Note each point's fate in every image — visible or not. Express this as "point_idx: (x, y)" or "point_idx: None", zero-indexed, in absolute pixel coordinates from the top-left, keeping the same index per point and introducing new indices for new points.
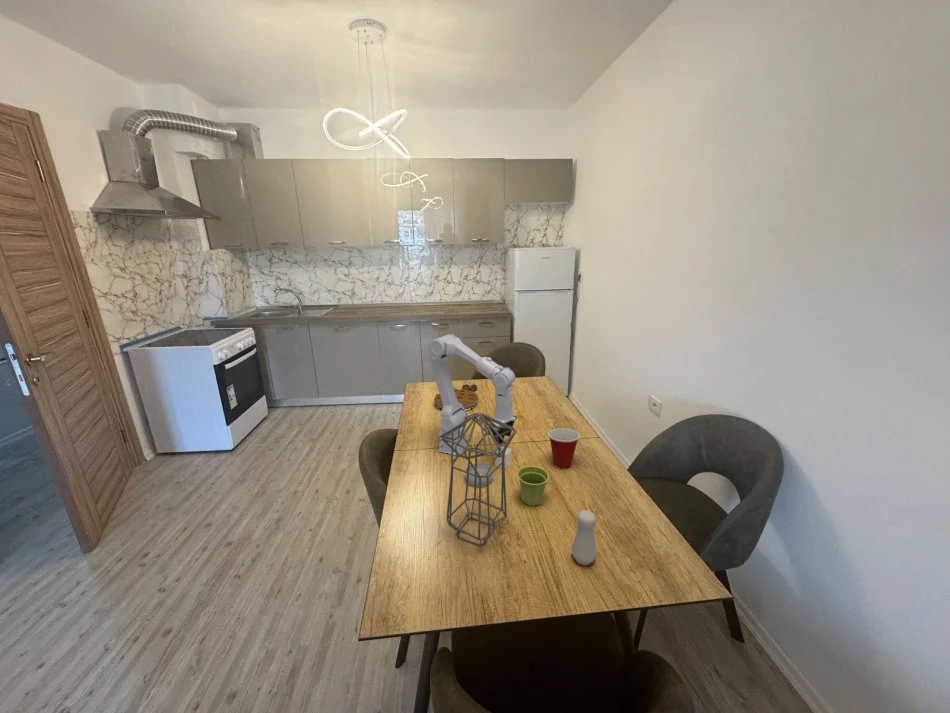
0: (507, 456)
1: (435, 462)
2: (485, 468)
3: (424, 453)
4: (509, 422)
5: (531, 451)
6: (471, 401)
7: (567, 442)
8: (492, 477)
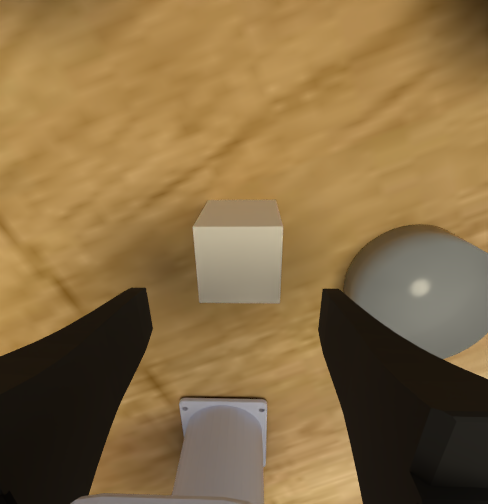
0: (278, 221)
1: (332, 445)
2: (401, 290)
3: (291, 486)
4: (64, 411)
5: (44, 131)
6: None
7: None
8: (420, 233)
